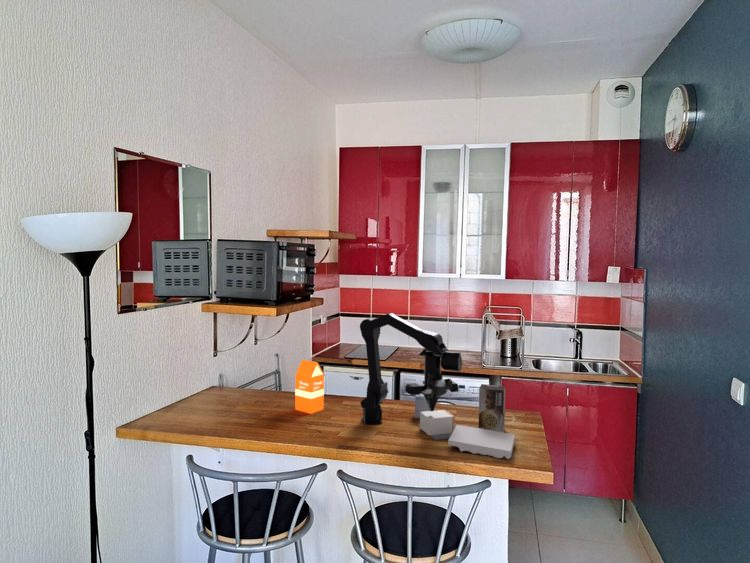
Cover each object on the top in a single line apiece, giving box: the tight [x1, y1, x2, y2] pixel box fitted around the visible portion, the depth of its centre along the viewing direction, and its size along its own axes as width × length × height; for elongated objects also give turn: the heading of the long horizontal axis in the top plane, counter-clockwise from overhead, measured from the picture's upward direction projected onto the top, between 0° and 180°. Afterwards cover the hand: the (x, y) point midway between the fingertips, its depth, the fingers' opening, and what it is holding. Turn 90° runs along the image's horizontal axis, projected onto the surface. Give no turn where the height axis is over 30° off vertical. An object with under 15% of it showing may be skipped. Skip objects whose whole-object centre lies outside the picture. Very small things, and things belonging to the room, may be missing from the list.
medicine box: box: [414, 393, 436, 419], centre depth 202 cm, size 8×4×9 cm, turn 84°
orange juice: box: [294, 359, 325, 415], centre depth 208 cm, size 8×9×20 cm
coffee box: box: [477, 383, 506, 433], centre depth 188 cm, size 9×6×16 cm
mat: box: [416, 423, 458, 441], centre depth 187 cm, size 14×16×1 cm
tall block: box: [419, 409, 456, 436], centre depth 186 cm, size 6×8×10 cm
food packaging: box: [447, 424, 516, 460], centre depth 172 cm, size 15×3×20 cm
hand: (431, 411), depth 185 cm, fingers closed
